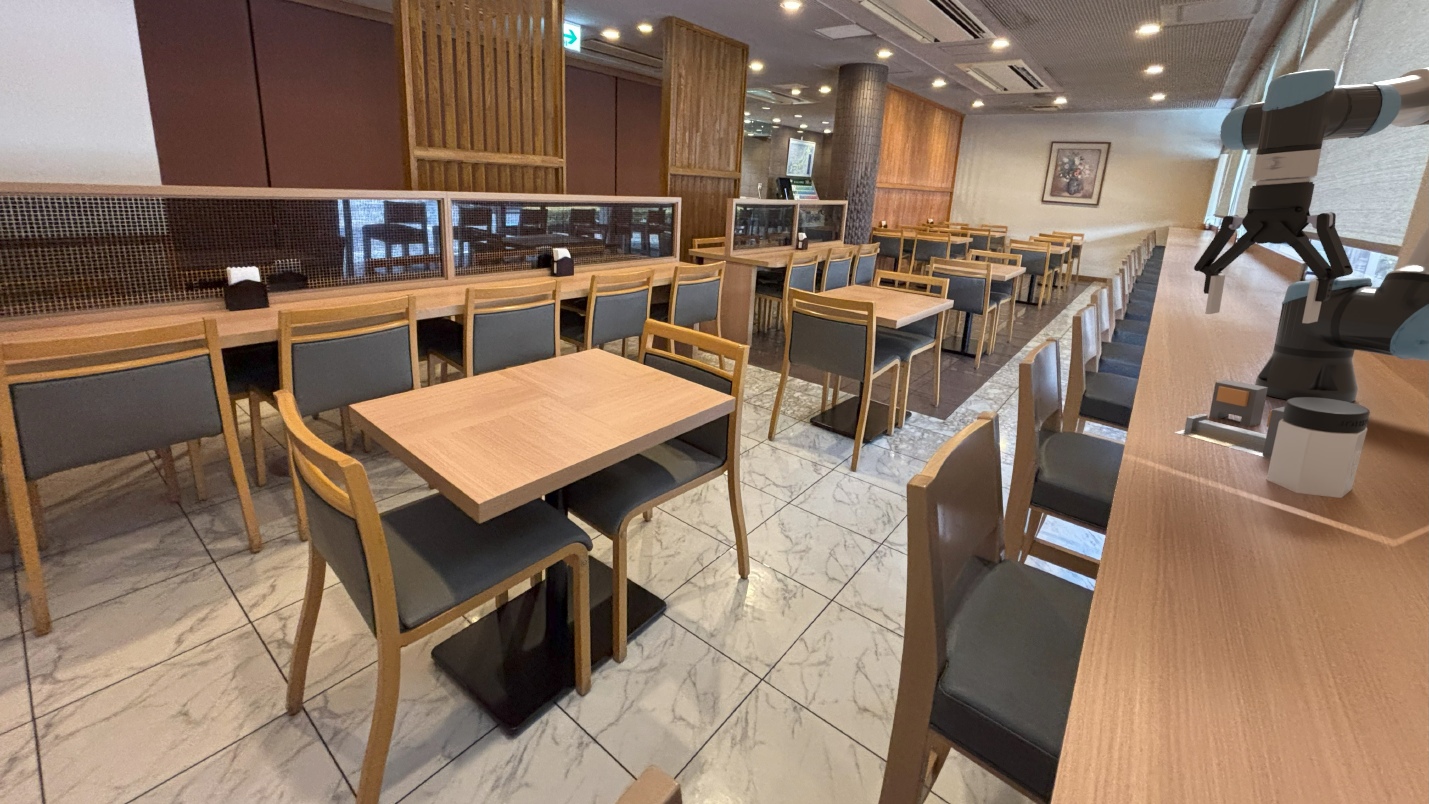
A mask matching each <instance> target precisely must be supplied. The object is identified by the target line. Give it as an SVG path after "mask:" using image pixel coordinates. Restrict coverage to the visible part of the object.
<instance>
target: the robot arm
mask: <svg viewBox="0 0 1429 804" xmlns="http://www.w3.org/2000/svg"><path fill="white" fill-rule="evenodd" d="M1335 80H1336V72H1335V71H1334V70H1333V69H1330V68H1319V69H1310V70H1304V71H1296V72H1293V73H1292V72H1291V73H1288V74H1282V75H1280V76H1277V77H1275V78H1274V79H1273V80H1271V81H1270V83H1269V85H1268V86H1267V87H1268V88H1267V91H1266V95H1265V99H1264V100H1263V101H1260V102H1252V103H1249V104H1246V105H1241V106H1238V107H1236V108H1235V107H1234V108H1233V109H1232V110H1230V111H1229V112H1228V113H1227V115H1225V117H1224V118H1223V121H1222V123H1221V125H1220V131H1219V132H1220V134H1219V136H1220V141H1221V144H1223V147H1226V148H1227V149H1229V150H1232V151H1240V150H1241V151H1242V150H1244V151H1248V150H1253V149H1257V150H1256V155H1255V161H1254V166H1253V171H1252V177H1251V181H1252V182H1253V183H1254V182H1256V183H1255V185H1252V187H1251V188H1250V189H1249V194H1248V201H1247V205H1246V206H1247V207H1246V208H1247V212H1246V214H1245V216H1239V215H1237V214H1234V215H1227V216H1224V217H1223V218H1222V219H1221V220H1222V221H1221V224H1220V229H1219V230H1218V232H1217V233H1216V235H1215V236H1214V238H1213V239H1212V240H1211V242H1210V243H1209V245H1208V247H1206V248H1205V250H1204V252H1202V255H1201V256H1200V258H1199V259H1198V261H1197V262H1196V263H1195V265H1194V267H1193V269H1194V271H1196V272H1201V273H1203V274H1204V275H1205V278H1204V286H1203V294H1204V295H1205V294H1206V295H1207V300H1206V307H1205V315H1212V314H1216V313H1217V314H1218V313H1220V310H1221V303H1222V299H1223V298H1222V297H1223V292H1224V284H1225V281H1226V274H1223V272H1222V271H1224V270H1225V269H1226V268H1227V267H1228V266H1230V264H1231V263H1233V262H1234V261H1235V260H1236V259H1237V258H1238V257H1240V256H1241V255H1242V254H1243V253H1245V251H1246V250H1248V249H1249V248H1250V247H1251V246H1253V245H1254V244H1256V245H1260V244H1262V245H1263V244H1268V243H1270V244H1273V245H1282V244H1287V245H1288V246H1290V247H1292V249H1293V250H1294V251H1295V252H1296V253H1297V254H1298V256H1299V257H1300V258H1301V259H1302V261H1303V262H1304V263H1305V264H1306V266H1307V267H1308V268H1309V269H1310V271H1311V272H1312V273H1313V274H1314V276H1315V277H1316V279H1313V280H1311V279H1310V280H1302V281H1296V282H1295V281H1294V282H1293V283H1291V284H1290V285H1289V286H1288V287H1287V289H1286V292H1285V295H1284V298H1283V300H1282V302H1281V309H1280V310H1281V311H1280V316H1279V321H1278V325H1277V326H1278V327H1277V331H1276V335H1275V340H1274V341H1275V342H1274V346H1273V349H1272V350H1273V351H1272V353H1271V355H1270V357H1269V358H1268V360H1267V362H1266V363H1265V364H1264V366H1263V368H1262V369H1261V370H1260V372H1259V374H1258V375H1257V376H1256V379H1255V383H1254V385H1258V386H1263V387H1268V390H1267V395H1266V396H1268V397H1272V398H1278V399H1280V400H1281V399H1282V400H1286V401H1287V400H1288V399H1291V398H1298V397H1314V398H1326V399H1334V400H1341V401H1346V402H1351V403H1354V402H1355V401H1356V398H1357V395H1358V391H1359V388H1358V383H1357V378H1356V373H1355V368H1354V363H1353V358H1354V354H1355V351H1360V352H1366V353H1371V354H1378V355H1379V354H1380V355H1385V356H1391V357H1396V358H1398V359H1402V360H1419V361H1426V362H1428V361H1429V223H1428V224H1427V226H1426V228H1425V230H1424V232H1423V233H1422V235H1421V237H1420V238H1419V240H1418V241H1417V244H1416V245H1415V247H1414V249H1413V250H1412V252H1411V254H1410V256H1409V257H1408V258H1407V261H1406V263H1405V264H1404V266H1402V267H1399V268H1396V269H1394V270H1392V271H1390V272H1388V273H1387V274H1386V275H1385V277H1384V278H1383V280H1382V281H1381V283H1380V285H1379V286H1373V283H1372V279H1371V278H1370V277H1350V278H1349V277H1348V278H1343V277H1346V276H1350V275H1352V274H1353V272H1354V269H1353V267H1352V266H1353V265H1352V264H1351V262H1350V260H1349V257H1348V255H1347V253H1346V250H1345V248H1344V245H1343V243H1342V240H1341V238H1340V235H1339V234H1338V230H1337V228H1336V219H1337V218H1336V217H1337V215H1336V213H1335V212H1334V211H1332V212H1322V213H1319V214H1313V215H1311V213H1310V207H1311V204H1312V201H1313V194H1314V191H1315V190H1314V189H1315V183H1314V181H1311V178H1315V177H1316V176H1317V174H1318V169H1319V164H1320V158H1321V152H1322V150H1321V149H1322V146H1323V143H1324V142H1323V141H1327V140H1328V141H1329V140H1339V139H1346V138H1347V139H1356V138H1358V139H1359V138H1362V137H1367V136H1368V137H1369V136H1371V135H1375V134H1378V133H1379V132H1382V131H1383V130H1385V129H1386V128H1388V126H1390V125H1392V126H1394V127H1398V128H1408V127H1409V128H1410V127H1415V126H1423V125H1424V126H1425V125H1427V126H1428V125H1429V66H1428V67H1423V68H1417V69H1413V70H1410V71H1408V72H1406V73H1403V74H1402V75H1400V76H1398V77H1397V78H1393V79H1389V80H1381V81H1377V82H1367V83H1364V84H1363V83H1362V84H1361V83H1360V84H1346V85H1336V84H1337V83H1336V81H1335ZM1309 224H1311V226H1312V228H1313V229H1315V230H1316V234H1317V237H1318V239H1319V242H1320V243H1321V246H1322V249H1323V252H1324V253H1325V256H1326V258H1327V260H1328V262H1327V260H1326V259H1325V258H1324V257H1323V256H1322V255H1321V253H1320V252H1319V251H1318V249H1317V248H1316V247H1315V246H1314V245H1313V243H1312V242H1311V241H1310V238H1309V236H1308V235H1307V234H1306V233H1305V232H1304V229H1305V228H1306V227H1307V226H1309ZM1241 226H1242V227H1243V228H1244V229H1245V231H1246V232H1245V233H1244V234H1242V235H1241V236H1240V237H1239V238H1238V239H1237V241H1236V242H1235V243H1234V244H1233V245H1232V246H1231V247H1229V249H1227V250H1226V251H1225V252H1224V253H1223V254H1222V255H1220V254H1221V252H1222V251H1223V249H1224V248H1225V246H1226V245H1227V244H1228V243H1229V241H1230V240H1231V238H1232V236H1234V234H1235V232H1236V231H1237V230H1238V229H1240V228H1241ZM1219 255H1220V257H1218V256H1219Z"/></svg>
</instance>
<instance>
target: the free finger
mask: <svg viewBox="0 0 1429 804" xmlns="http://www.w3.org/2000/svg"><path fill="white" fill-rule="evenodd" d="M1267 390H1268V387H1263V386H1258V385H1255V384H1251V383H1245V382H1241V381H1236V380H1230V379H1223V380H1220V381H1215V383H1214V389H1213V395H1212V400H1211V404H1210V411H1209V414H1208V418H1211V419H1215V420H1219V419H1223V418H1228V417H1229V415H1232V416H1237V417H1241V418H1240V422H1239V425H1240V426H1241V425H1242V426H1245V427H1249V428H1250V427H1253V426H1256V425H1260V424H1261V423H1262V422H1261V421H1262V417H1263V413H1264V409H1265V404H1266V403H1265V402H1266V399H1267V396H1268V395H1267Z"/></svg>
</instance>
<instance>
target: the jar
mask: <svg viewBox="0 0 1429 804" xmlns="http://www.w3.org/2000/svg"><path fill="white" fill-rule="evenodd" d="M1284 406H1285V409H1284V413H1283V419H1282V420H1280V421H1279V424H1278V428H1277V433H1276V438H1275V442H1274V447H1273V451H1272V456H1271V459H1269V460H1270V461H1269V466H1268V470H1267V475H1266V481H1268V482H1271V483H1273V484H1276V485H1277V486H1280V487H1282V488H1284V489H1286V490H1290V491H1292V492H1293V493H1295V494H1304V495H1312V496H1321V497H1328V498H1338V499H1341V498H1342V499H1343V497H1344V496H1346V495H1347V494H1348V493H1349V492H1350V491H1352V490H1353V485H1354V482H1355V479H1356V474H1357V471H1358V468H1359V467H1358V466H1359V463H1360V459H1361V456H1362V451H1363V447H1364V444H1365V441H1366V437H1367V436H1366V435H1367V432H1368V427H1367V426H1368V424H1369V421H1370V414H1371V412H1370V409H1369V408H1367V407H1366V406H1364V405H1361V404H1357V403H1354V402H1346V401H1341V400H1334V399H1326V398H1314V397H1298V398H1291V399H1288V400H1286V401H1285V404H1284Z"/></svg>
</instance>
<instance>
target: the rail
mask: <svg viewBox="0 0 1429 804" xmlns="http://www.w3.org/2000/svg"><path fill="white" fill-rule="evenodd" d="M1208 418H1209V414H1205V413H1199V414H1195V415H1194V414H1193V415H1191V416H1190V415H1189V416H1187V417H1186V421H1185V426H1184V429H1181V430H1179V431H1178V430H1177V431H1174V433H1173V434H1177V435H1180V436H1185V437H1188V438H1192V439H1195V440H1199V441H1203V442H1207V443H1211V444H1214V445H1218V446H1223V447H1226V448H1228V449H1233V450H1236V451H1239V452H1243V453H1247V454H1251V455H1255V456H1259V457H1262V458H1265V459H1269V460H1271V456H1270V455H1266V454H1263V450H1264V445H1265V441H1266V436H1267V433H1261V432H1258V431H1253V430H1249V429H1246V428H1242V427H1237V426H1232V425H1228V424H1224V423H1221V422H1216V421H1212V420H1208Z"/></svg>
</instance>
